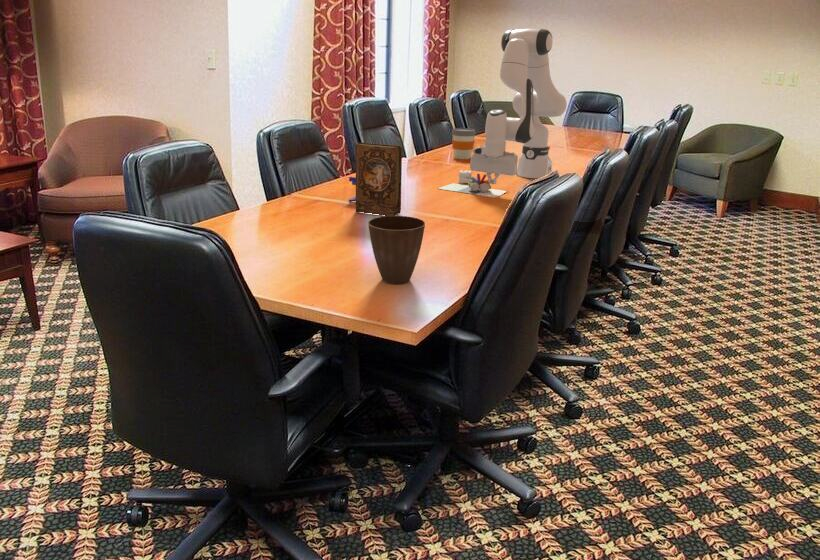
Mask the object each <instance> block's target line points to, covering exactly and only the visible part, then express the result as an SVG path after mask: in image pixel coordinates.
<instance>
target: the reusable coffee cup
mask: <svg viewBox="0 0 820 560" xmlns="http://www.w3.org/2000/svg"><path fill="white" fill-rule="evenodd" d="M451 136H452V139H451V143H452V150H453V158H454V159H457V158H458V159H457V160H469V159H470V160H471V157H472V154H473V149H474V146H475V136H476V129H474V128H469V127H467V128H466V127H456V128H455V127H454V128H452V131H451Z"/></svg>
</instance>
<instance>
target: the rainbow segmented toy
mask: <svg viewBox="0 0 820 560" xmlns="http://www.w3.org/2000/svg"><path fill="white" fill-rule="evenodd" d="M486 178H487V174H483V176H482V178H481V174H480V173H477V175H476V178H475V177H474V176H471V183H469V184H467V185H468V186H469V187H470V189H471V191H473V192H477V191H478V190H479V189H480V190H481V191H482V192H487V191H488V190H489V189H492V186H491V184H489V179H486ZM485 179H486V180H485Z"/></svg>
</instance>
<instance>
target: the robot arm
mask: <svg viewBox="0 0 820 560" xmlns="http://www.w3.org/2000/svg"><path fill="white" fill-rule="evenodd" d="M500 46H501V49H502V51H503V55H502V59H501V63H500V70H499V77H500V78H499V79H501V81H502V82H501V83H503V84H504V86H506V87H508V88H510V89H511V90H513V91H515V92H516V94H515V95H514V97H513V98H512V108H513V110H514V112H516V113H517V115H518V116H519V117H510V116H508V115H507V112H506V111H505V110H503V109H491V110H490V111H489V112H487V116H486V120H485V126H484V127H485V129H484V134H485V139H484V143H483V144H484V145H480V146H477V147H475V148H474V147H473V149H472V154H471V158H470V162H469V163H470V164H469V169H470V171H472V172H474V171H475V172H482V173H486V178H488V179H489V184H490V185H496V184H497V180H498V178H499V177H500V175H503V176H511V177H513V176H515V175H517V176H518V177H522V178H527V179H541V178H540V177H543V176H545V175H547V174H549V173H550V172H552V171H554V170H553V160H552V159H551V157H550V156H549V152H550V150H551V147H550V145H549V134H550V131H549V128H548V127H547V126H546V125H544V124H543V123H542V122H541V120H540V117H543V118H544V117H546V118H556V117H561V116H563V115H564V113H565V112H566V110H567V100H566V97H565V95H564V94H562V93H561V92H560V91H558V89H557V88H556V86H555V85H554V83H553V81H552V78H551V70H550V58H549V52H550V51H551V50H552V47H553V35H552V32H550V30H548V29H546V28H540V29H539V28H529V27H528V28H527V27H526V28H518V29H509V30H506V31H505V32H504V33H503V34H502V36H501V42H500ZM507 141H508V142H516V143H519V144H523V145H522V148H521V150H522V151H521V155H520V156H519V155H517V154H516V153H515V152H508V151H506V147H507V146H506V145H507ZM491 175H494V179H493V178H492V176H491ZM488 179H487V180H488Z"/></svg>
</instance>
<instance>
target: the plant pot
mask: <svg viewBox="0 0 820 560" xmlns="http://www.w3.org/2000/svg"><path fill="white" fill-rule="evenodd" d="M367 225H368V231H369V239H370V243H371V248H372V252H373V256H374V259H375V263H376V266H377V268H378V272H379V275H380V277H381V279H382V281H383V282H384V281H385V282H384V283H386V282H387V283H386V284H389V283H391V284H392V285H403V284H407V283H408V282H410V280H411V278H412V276H413V274H414V273H413V272H414V270H415V267H416V264H417V262H418V259H419V255H420V251H421V247H422V244H423V238H424V233H425V228H426V227H425V226H426V222H425V221H424V220H423V219H420V218H418V217H413V216H408V215H407V216H406V215H395V216H377V217H374V218H371V219H370V220H368V223H367ZM391 284H390V285H391Z"/></svg>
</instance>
